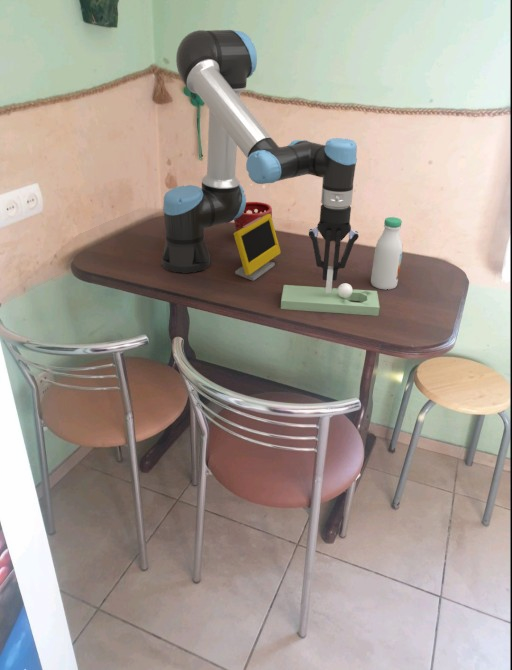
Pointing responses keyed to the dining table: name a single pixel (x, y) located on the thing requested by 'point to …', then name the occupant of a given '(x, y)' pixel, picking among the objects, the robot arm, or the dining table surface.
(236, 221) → the plant pot
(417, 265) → the dining table surface
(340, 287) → the ball
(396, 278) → the milk bottle
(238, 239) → the yellow framed monitor
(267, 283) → the dining table surface
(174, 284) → the dining table surface
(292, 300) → the putting strip
